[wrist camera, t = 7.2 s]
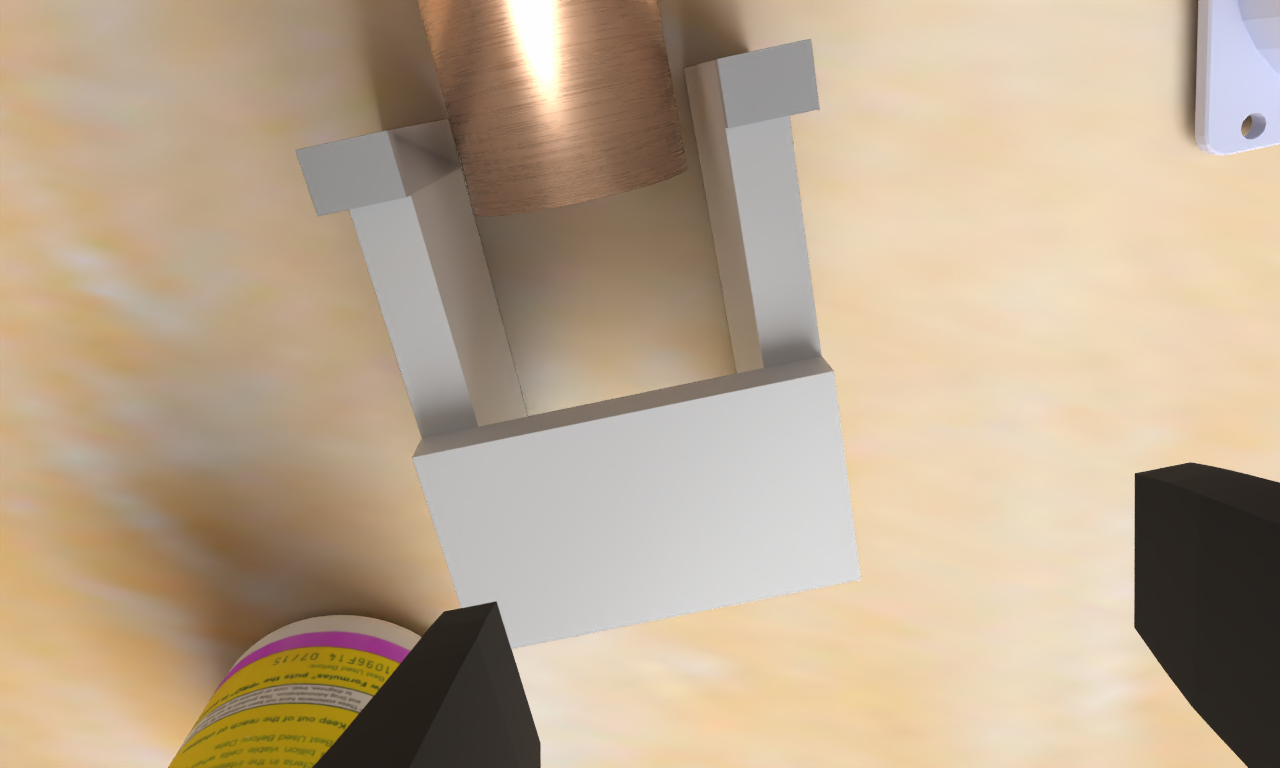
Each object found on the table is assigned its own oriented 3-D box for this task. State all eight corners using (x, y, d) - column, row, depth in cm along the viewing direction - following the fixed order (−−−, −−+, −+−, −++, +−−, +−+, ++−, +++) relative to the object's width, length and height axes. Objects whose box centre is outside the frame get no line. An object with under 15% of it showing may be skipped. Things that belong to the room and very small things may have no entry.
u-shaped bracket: (750, 53, 17) (818, 36, 12) (807, 445, 20) (882, 575, 15) (382, 133, 17) (283, 152, 12) (494, 509, 20) (455, 660, 15)
